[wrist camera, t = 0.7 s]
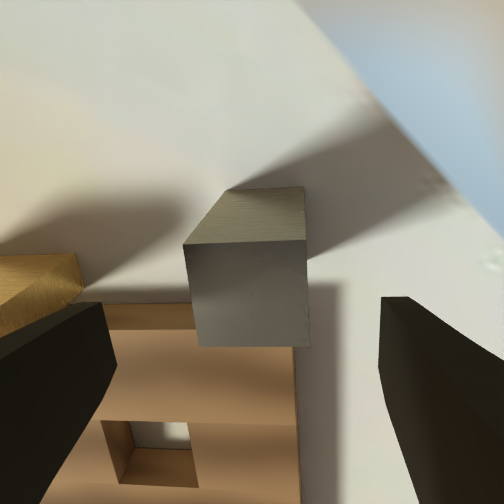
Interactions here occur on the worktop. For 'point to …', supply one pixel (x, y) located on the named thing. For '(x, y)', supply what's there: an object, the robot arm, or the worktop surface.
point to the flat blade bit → (35, 287)
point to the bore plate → (187, 419)
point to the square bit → (250, 270)
